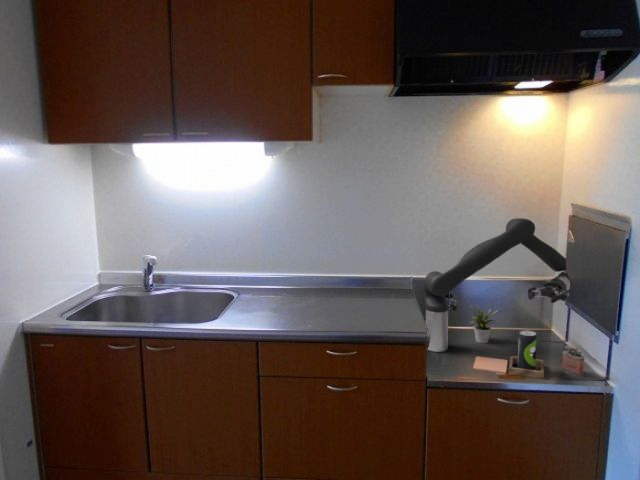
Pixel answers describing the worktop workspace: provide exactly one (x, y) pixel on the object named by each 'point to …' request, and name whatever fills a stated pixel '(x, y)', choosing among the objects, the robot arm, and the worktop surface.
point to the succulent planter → (573, 361)
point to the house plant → (482, 326)
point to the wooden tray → (525, 371)
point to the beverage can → (527, 350)
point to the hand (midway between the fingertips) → (540, 298)
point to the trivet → (490, 364)
